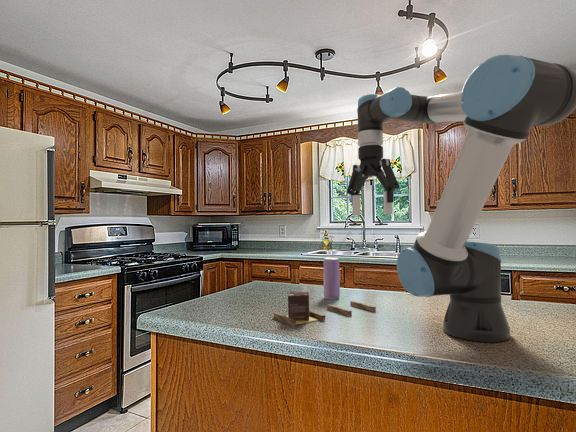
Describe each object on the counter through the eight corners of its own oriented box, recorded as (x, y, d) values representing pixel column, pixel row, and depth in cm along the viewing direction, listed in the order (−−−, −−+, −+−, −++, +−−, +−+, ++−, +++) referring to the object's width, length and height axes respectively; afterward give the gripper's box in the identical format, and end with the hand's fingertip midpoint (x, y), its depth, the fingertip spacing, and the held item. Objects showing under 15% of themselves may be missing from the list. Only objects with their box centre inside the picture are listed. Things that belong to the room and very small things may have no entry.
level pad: (318, 320, 107) (318, 319, 107) (296, 324, 103) (296, 323, 103) (301, 314, 114) (301, 313, 114) (280, 317, 110) (280, 316, 110)
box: (309, 315, 111) (309, 291, 111) (309, 321, 105) (308, 295, 105) (289, 315, 112) (289, 291, 112) (287, 320, 106) (287, 295, 106)
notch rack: (375, 311, 117) (375, 306, 117) (293, 326, 101) (292, 320, 101) (352, 305, 126) (352, 300, 126) (273, 317, 110) (273, 312, 110)
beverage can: (340, 299, 136) (340, 258, 136) (324, 299, 136) (324, 259, 136) (338, 296, 142) (338, 257, 142) (323, 296, 142) (322, 257, 142)
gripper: (411, 139, 105) (412, 213, 105) (352, 154, 127) (353, 215, 126) (392, 136, 101) (394, 213, 101) (335, 152, 123) (336, 215, 122)
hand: (371, 215), depth 114 cm, fingers open, 13 cm apart
